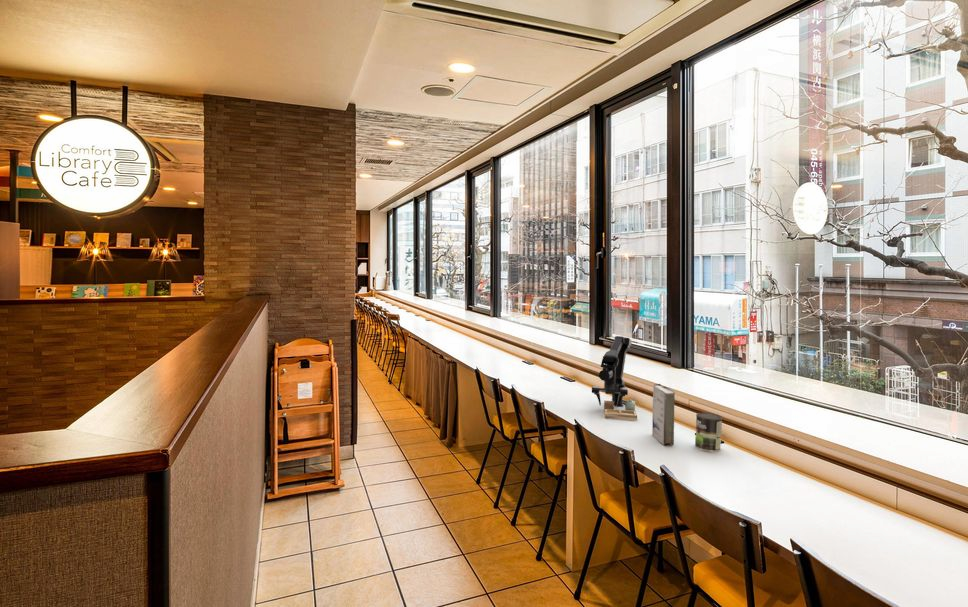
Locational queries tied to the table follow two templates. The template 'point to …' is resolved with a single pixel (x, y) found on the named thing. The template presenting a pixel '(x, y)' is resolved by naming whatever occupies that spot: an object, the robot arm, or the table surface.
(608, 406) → the walnut block
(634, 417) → the caddy base
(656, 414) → the book
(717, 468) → the table surface
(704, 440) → the coffee can
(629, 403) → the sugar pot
